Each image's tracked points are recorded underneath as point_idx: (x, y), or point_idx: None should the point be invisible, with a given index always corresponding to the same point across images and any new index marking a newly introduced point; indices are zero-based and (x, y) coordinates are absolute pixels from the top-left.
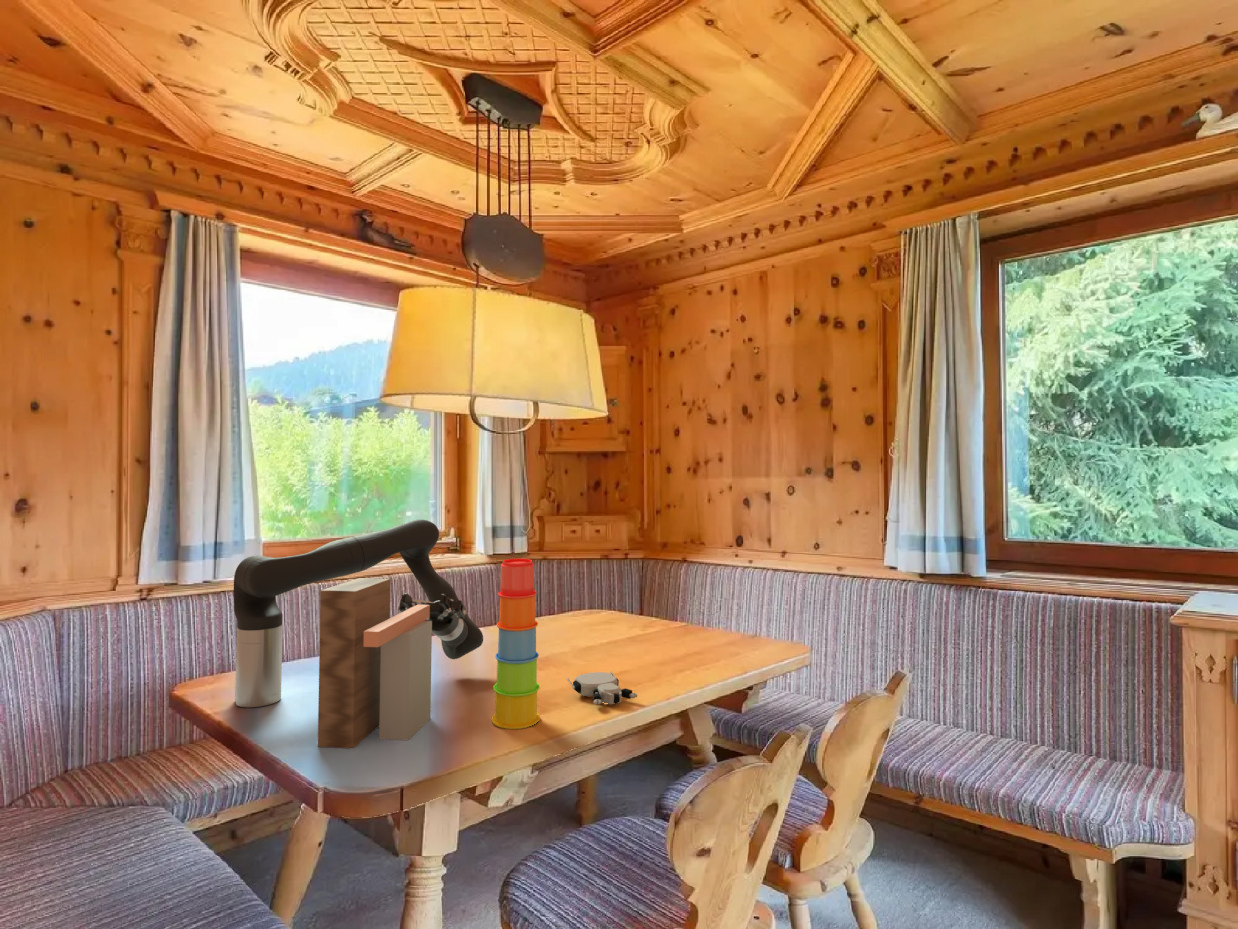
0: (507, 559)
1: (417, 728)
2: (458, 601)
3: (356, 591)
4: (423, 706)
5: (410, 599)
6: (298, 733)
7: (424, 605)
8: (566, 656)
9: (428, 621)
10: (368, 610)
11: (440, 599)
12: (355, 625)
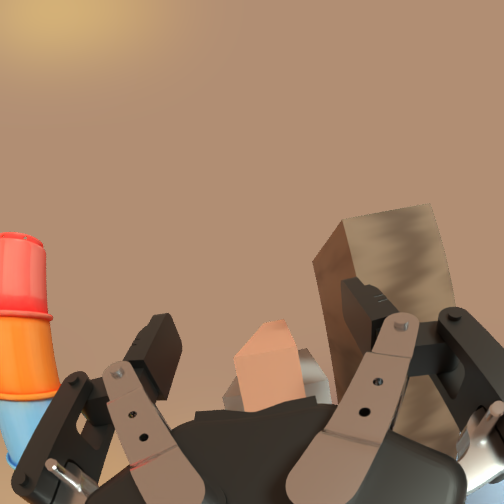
0: (18, 233)
1: None
2: (83, 376)
3: (313, 261)
4: None
5: (361, 320)
6: (457, 455)
7: (254, 351)
8: None
9: (233, 392)
10: (329, 300)
11: (176, 333)
12: (324, 316)
